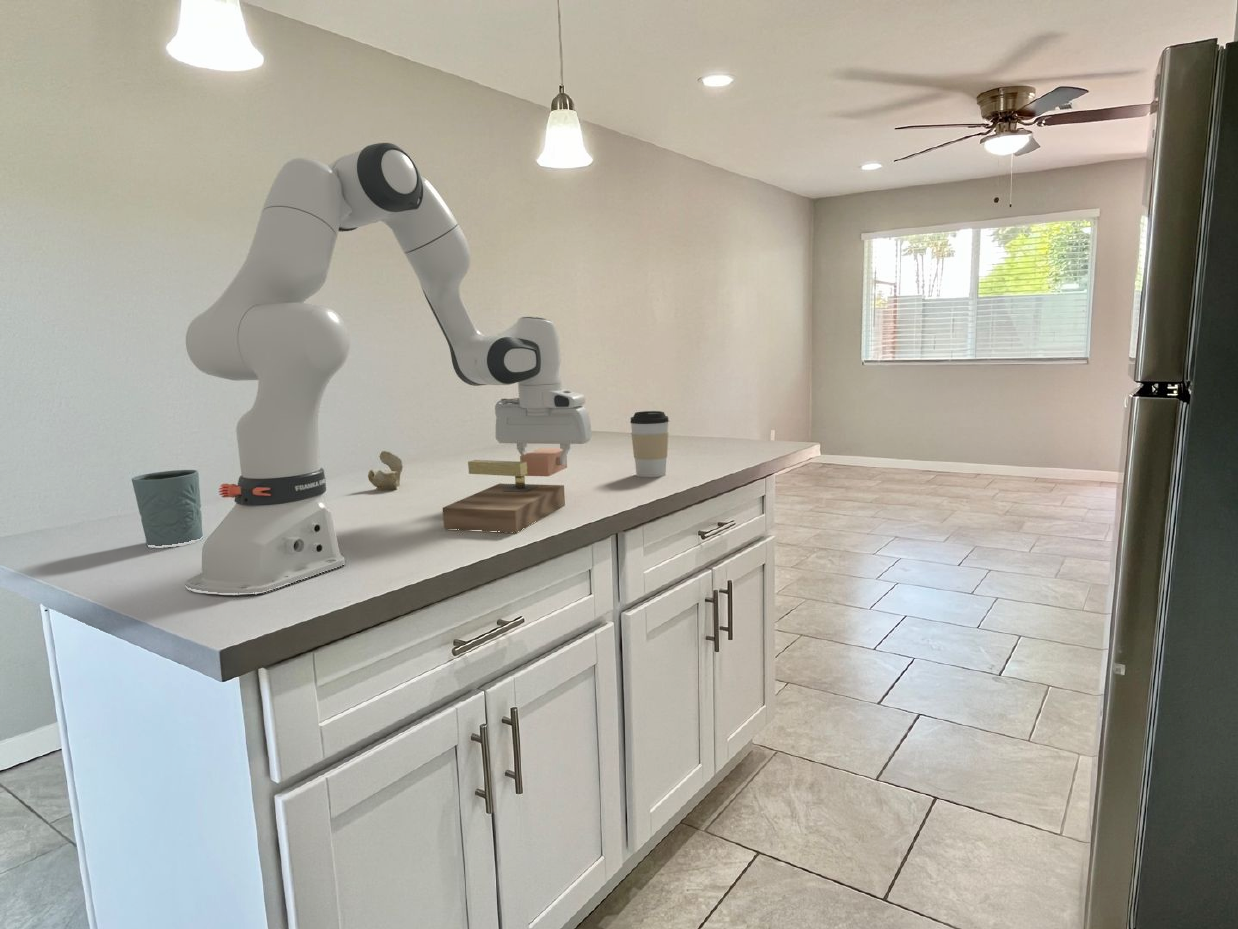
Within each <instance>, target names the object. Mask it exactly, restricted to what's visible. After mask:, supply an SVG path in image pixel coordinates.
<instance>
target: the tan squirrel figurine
mask: <svg viewBox="0 0 1238 929" xmlns="http://www.w3.org/2000/svg"><path fill="white" fill-rule="evenodd" d="M378 457H379V460H380V461H381V463H383V464H384V465H386V466H388V468H389V469H390V470H387V469H379V470H377V471H376V470H374V469H373V468H372V469H370V470H369V471H368V475H367V478H368V481H369V482H370V483H371V484H372V485H373V487H376V488H375V489H374V490H375V491H382V490H396V491H397V490H398V487H400V486H401V484H400V481H401V474H402V471H403V468H404V467H403V460H402V459H401V458H400V457H399V456H398V455H396V454H395V453H393V452H390V451H387V450H382V451H381V452H380V454H379V456H378Z"/></svg>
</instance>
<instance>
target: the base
mask: <svg viewBox="0 0 1238 929" xmlns="http://www.w3.org/2000/svg"><path fill="white" fill-rule="evenodd" d="M565 498H566V497H565V485H563V484H562V485H561V484H534V483H533V484H531V483H530V484H529V483H525V488H516V484H515V483H498V484H495V485H493V486H491V487H488V488H485V489H483V490H481V491H479V492H476V493H474V494H472V495H469V496H467V497H465V498H463V499H460V500H457V501H454V502H452V503H450V504H448V505H446V506H445V505H444V506H443V507H442V519H443V530H444V529H457V530H458V529H459V530H482V531H497V532H498V531H500V532H513V533H512V534H518V533H519V532H518V531H520V530H522V529H523V528H525V529H527V528H528V526H529V525H530V526H532V525H533V524H532V523H534V522H535V521H537V522H539V521H540V519H541V518H542V519H544V518H545V516H546V515H547V516H549V515H551V514H553V513H554V512H556V511H557V510H559V509H562V508H563V507H565V505H566V501H565ZM547 516H546V517H547ZM543 517H544V518H543ZM542 519H541V520H542ZM538 520H539V521H538ZM535 523H536V522H535ZM535 523H534V524H535ZM531 524H532V525H531ZM530 526H529V527H530ZM526 527H527V528H526ZM457 530H456V531H457ZM523 530H524V529H523ZM523 530H522V531H523ZM497 532H496V533H497ZM517 532H518V533H517ZM520 532H521V531H520Z"/></svg>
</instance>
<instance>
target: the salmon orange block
mask: <svg viewBox="0 0 1238 929" xmlns="http://www.w3.org/2000/svg"><path fill="white" fill-rule="evenodd" d="M562 450H563V449H560V448H538V449H535V450H533V451H530V452H527V454H525V455H522V456H521V455H520V457H519V458H520V459H519V462H527V475H524V477H550V476H552V475H556V474H557V473H559V472H561V471H564V470H565V469H567V468H568V460H567V459H568V457H567V455H568V454H567V455H566V464H565V465H564V466H557V465H556V462H557V461H556V457H558V456H560V455H561V453H562Z"/></svg>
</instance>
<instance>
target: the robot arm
mask: <svg viewBox="0 0 1238 929" xmlns="http://www.w3.org/2000/svg"><path fill="white" fill-rule="evenodd" d="M272 182H273V183H272V185H271V187H270V188H269V191H268V194H267V196H266V199H265V201H264V202H263V203H264V204H263V206H262V210H261V212H260V217H259V220H258V223H257V226H256V230H255V232H254V236H253V238H252V241H251V245H250V248H249V250H248V254H247V256H246V258H245V260H244V262H243V264H242V266H241V267H240V268H239V270H238V272H237V273H236V275H235V277H234V278H233V280H232V281H231V282H230V284H229V285H228V286H227V288H226V289H225V290H224V292H222V294H221V295H220V296H219V298H218V299H217V300H216V301H215V302H214V303H213V304H212V305H211V306H209V307H208V308H207V309H206V310H205V311H203V312H202V313H200V314H198V315H197V316H195V317H194V318H193V320H191V322H190V324H189V325H188V327H187V329H186V334H185V348H186V351H187V355H188V357H189V360H190V361H191V362H192V364H193V365H194V366H195V368H196V369H198V370H199V371H200V372H202V373H204V374H206V375H209V376H213V377H216V378H220V379H225V380H230V381H237V382H239V381H258V385H257V392H256V397H255V400H254V402H253V405H252V407H251V408H250V409H249V410H248V411H247V412H245V413H243V415H242V416H241V417H240V418H239V419H238V422H237V424H236V428H235V432H236V440H237V450H238V456H239V458H238V459H239V464H240V472H241V474H240V476H239V477H238V481H237V484H235V483H231V484H230V483H222V484H220V486H219V488H218V490H219V491H218V493H219V496H221V498H224V499H225V498H232V499H233V500H234V503H235V505H234V506H233V507H232V508H231V510H230V511H229V512H228V513H227V514H226V516H225V517H224V519H223V520H222V521H221V522H220V524H218V525H217V527H216V528H215V529H214V530H213V532H212V533H211V534H210V535H209V536H208V537H207V538H206V540H205V541H204V542H203V546H202V551H201V552H202V553H201V570H202V572H201V573H198V574H197V575H195V576H193V577H190V578H188V579H187V580H185V581H184V586H185V585H186V586H187V587H188V588H191V589H196V590H201V591H208V592H217V593H238V594H239V593H253V592H254V593H255V592H263V591H267V590H269V589H274V588H276V587H278V586H281V585H284V584H286V583H292V582H295V581H296V580H301V579H303V578H305V577H310V576H313V575H315V574H318V573H320V572H323V571H326V570H330V569H332V568H335V567H338V566H341V565H343V564H345V565H346V559H345V556H343V555H342V553H341V551H340V550H339V544H338V539H337V534H336V530H335V523H334V519H333V514H332V511H331V509H330V508H329V506H328V503H327V501H326V497H325V493H326V491H327V478H326V476H325V469H324V468H322V466H321V455H320V444H319V443H320V442H319V441H320V440H319V426H318V425H319V424H318V423H319V412H320V406H321V402H322V399H323V396H324V393H325V390H326V388H327V387H328V384H329V382H330V381H331V379H332V378H333V377H334V376H335V375H336V374H337V372H338V371H339V370H341V368H342V367H343V366H344V365H345V363H346V361H347V359H348V356H349V353H350V345H351V344H350V343H351V342H350V340H351V339H350V334H349V331H348V328H347V325H346V323H345V322H344V320H343V319H342V317H341V316H340V314H338V313H337V312H336V311H335V310H333V309H332V308H330V307H325V306H321V305H318V304H317V305H316V304H312V303H304V302H305V301H306V300H308V299H309V298H311V297H312V296H314V295H315V294H316V293H318V292H319V291H320V290H321V288H323V286H324V285H325V283H326V280H327V279H328V278H327V277H328V274H329V273H328V272H329V269H330V267H331V266H330V265H331V262H332V259H333V254H334V250H335V246H336V242H337V238H338V234H339V232H349V231H351V232H352V231H355V230H357V229H358V228H361V227H365V226H368V225H372V224H376V223H378V222H380V221H381V222H383V223H384V224H385V225H386V226H387V227H388V228H390V230H391V231H392V234H393V235H394V237H395V239H396V241H397V243H398V245H399V247H400V249H401V250H402V251H403V253H404V255H405V257H406V259H407V260H408V262H409V264H410V266H411V267H412V270H413V271H414V273H415V275H416V276H417V279H418V281H419V283H420V286H421V289H422V291H423V294H424V297H425V299H426V302H427V303H428V305H429V307H430V310H431V311H432V314H433V316H434V318H435V319H436V322H437V324H438V326H439V328H440V330H441V331H442V335H444V338H445V340H446V343H447V345H448V347H449V348H448V349H449V352H450V358H451V363H452V366H453V371H454V373H455V374H456V376H457V377H458V378H459V379H460V380H461V381H462V382H464V383H465V384H467V385H470V386H473V387H475V386H476V387H478V386H479V387H481V386H490V385H491V386H510V385H513V384H518V385H517V387H518V398H517V397H514V398H507V397H506V398H504V397H503V398H501V399H500V400H499V401H497V402H496V404H495V405H494V409H495V410H494V412H495V417H496V419H495V439H496V440H497V442H498V443H499V444H516V450H517V452H518V453H519V455H520V456H522V455H525V454H527V453H528V451H527V447H528V444H537V445H538V444H540V445H542V444H546V445H548V444H549V445H555V444H556V445H559V449H563V450H562V453H561V455H560V456H558V457H556V461H557V462H556V465H557V466H564V465H565V464H566V455H568V452H569V451H570V449H571V445H584V444H587V443H588V442H589V441H590V440H591V438H592V427H591V426H592V425H591V419H590V414H589V411H588V409H587V408H586V407H584V406H583V405H585V403H586V395H584V394H582V393H580V392H579V393H578V392H576V391H573V390H569V389H566V388H564V387H563V382H562V378H561V375H560V365H561V360H562V359H561V348H560V346H561V345H560V338H559V333H558V330H557V326H556V324H555V323H554V322H552V321H551V320H550V319H548V318H543V317H537V316H535V317H534V316H521V317H520V318H518V319H517V321H516V322H515V323H514V324H513V325H512V326H510V327H509V328H507V329H506V330H504V331H502V332H500V333H497V335H489V336H488V335H487V336H486V335H485V334H483V333H482V332H480V331H479V330H478V328H476V326H475V324H474V322H473V319H472V318H471V316H470V313H469V311H468V309H467V306H466V305H465V303H464V300H463V298H462V296H461V289H460V288H461V283H462V281H463V279H464V278H465V277H466V275H467V274H468V272H469V270H470V266H471V262H472V253H471V250H470V246H469V243H468V240H467V238H466V236H465V234H464V231H463V230H462V229H461V227H460V224H459V223H458V221H457V220H456V218H455V215H453V213H452V211H451V209H450V208H449V206H448V204H447V203H446V202H445V201H444V199H443V197H442V196H441V195H440V193H439V192H438V190H436V188H435V187H434V185H432V184H431V182H430V181H429V180H428V179H426V178H425V177H423V176H421V174H420V170H419V168H418V167H417V166H416V164H415V162H414V161H413V159H412V158H411V156H410V155H409V154H408V153H407V152H406V151H405V150H403V148H401V147H399V146H398V145H396V144H394V143H391V142H378V143H374V144H369V145H367V146H366V147H363V148H362V149H360V150H358V151H354V152H351V153H350V154H347V155H344V156H341V157H339V158H338V159H336V160H335V161H333V162H332V163H330V164H328V165H327V164H325V163H323V162H321V161H319V160H317V159H313V158H309V157H297V158H293V159H291V160H288V161H287V162H286V163H284V164H283V165H282V166H281V169H280V170H279V171H278V173H277V174H276V177H275V178H274V180H273V181H272ZM341 567H342V566H341ZM330 571H331V570H330ZM318 575H319V574H318ZM313 577H314V576H313ZM310 578H311V577H310ZM301 581H302V580H301ZM295 583H296V582H295Z"/></svg>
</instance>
